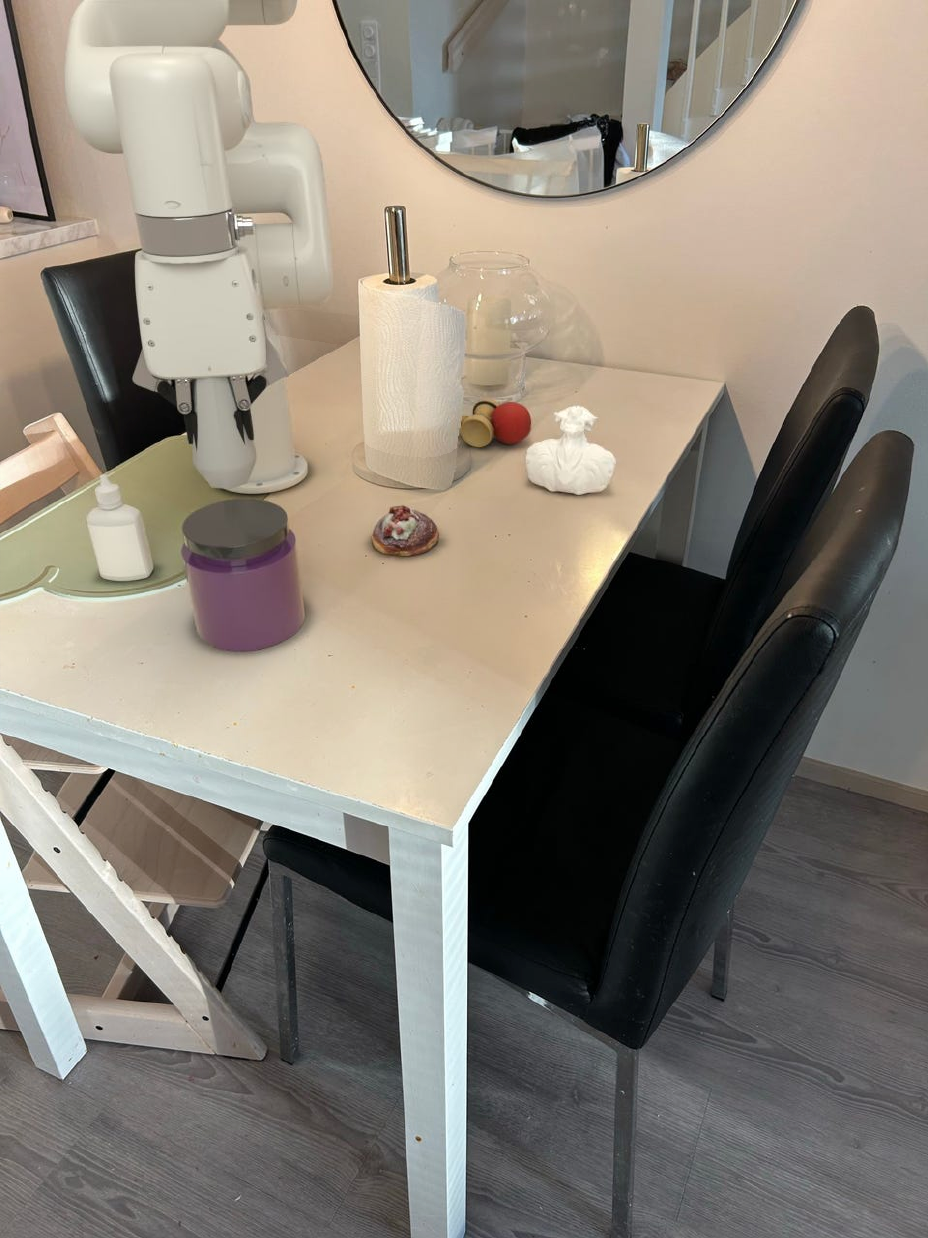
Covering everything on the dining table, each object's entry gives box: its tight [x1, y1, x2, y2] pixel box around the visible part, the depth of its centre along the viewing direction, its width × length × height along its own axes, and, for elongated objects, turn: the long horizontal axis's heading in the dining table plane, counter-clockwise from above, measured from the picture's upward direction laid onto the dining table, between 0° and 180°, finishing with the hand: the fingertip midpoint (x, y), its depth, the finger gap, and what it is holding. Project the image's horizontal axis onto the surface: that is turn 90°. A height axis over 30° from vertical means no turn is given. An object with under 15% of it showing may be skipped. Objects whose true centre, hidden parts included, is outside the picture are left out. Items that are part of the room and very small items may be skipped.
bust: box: [524, 404, 617, 496], centre depth 117 cm, size 12×8×11 cm
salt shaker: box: [191, 366, 256, 490], centre depth 80 cm, size 6×6×13 cm
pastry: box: [371, 504, 440, 557], centre depth 105 cm, size 8×8×5 cm
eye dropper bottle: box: [85, 474, 154, 582], centre depth 97 cm, size 4×6×12 cm
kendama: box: [459, 397, 532, 448], centre depth 131 cm, size 8×6×18 cm
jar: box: [180, 498, 306, 652], centre depth 89 cm, size 11×11×12 cm
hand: (223, 446), depth 82 cm, fingers closed on salt shaker, 3 cm apart
